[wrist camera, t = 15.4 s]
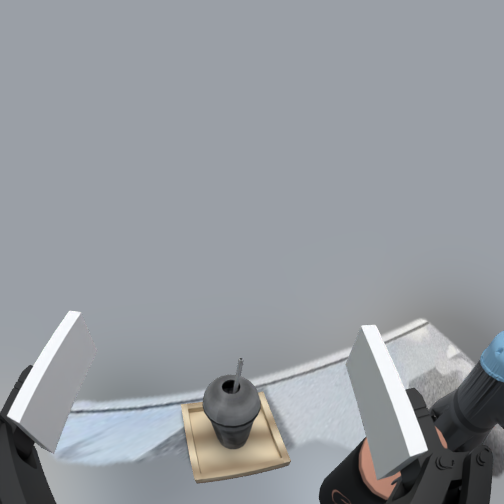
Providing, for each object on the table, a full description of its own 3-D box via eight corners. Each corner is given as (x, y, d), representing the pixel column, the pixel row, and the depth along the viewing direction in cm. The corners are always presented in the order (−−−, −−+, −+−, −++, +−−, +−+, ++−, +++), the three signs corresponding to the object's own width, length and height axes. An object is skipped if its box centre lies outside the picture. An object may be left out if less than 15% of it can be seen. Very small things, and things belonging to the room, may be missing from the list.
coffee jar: (302, 506, 25) (341, 479, 17) (338, 456, 33) (383, 401, 24) (362, 531, 20) (431, 510, 11) (392, 478, 27) (457, 429, 19)
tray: (288, 465, 32) (290, 461, 31) (196, 483, 29) (194, 479, 27) (262, 398, 44) (263, 391, 43) (183, 411, 40) (181, 404, 39)
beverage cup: (202, 426, 37) (185, 347, 28) (243, 412, 40) (247, 330, 31) (220, 463, 31) (209, 400, 22) (264, 446, 34) (279, 375, 25)
